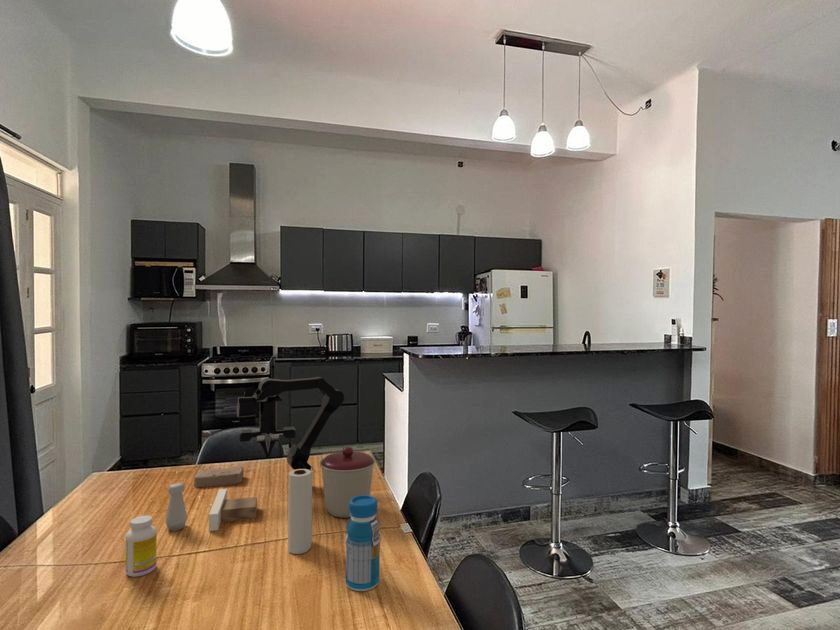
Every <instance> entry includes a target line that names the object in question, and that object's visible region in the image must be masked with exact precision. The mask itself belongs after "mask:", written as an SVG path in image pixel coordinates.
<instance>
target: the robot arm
mask: <svg viewBox="0 0 840 630" xmlns="http://www.w3.org/2000/svg"><path fill="white" fill-rule="evenodd" d="M313 389H317V390H318V391H319V392H320V393H321V394H322V395H323V397H322V400H321V405H320V409H319V411H318V412H317V414H316V415H315V417H314V419H313V420H312V422H311V424H310V425H309V427H308V429H307V430H306V432H305V434H304V436H303V437H302V438H301V440H300V442H299V443H297V444H294V443H292V445H291V448H290V449H289V450H288V452H286V454H287V457H286V461H287V463H288V465H289V466H290V468H291V469H293V470H296V469H308V470H310V471H311V468H312V471H313V470H314V468H313V467H312V465H311V464H310V463H309V462H308V461H309V458H310V455H311V449H312V447H313V446H314V444H315V442H316V441H317V439H318V438H319V435H320V434H321V432H322V431H323V428H324V427H325V426H326V424H327V422H328V420H329V418H330V417H331V416H332V414H333V413H335V412H336V411H337V410H338V409H339V408H340V407H341V406H342V404H343V403H344V401H345V395H344V392H342V391H341V390H338V389H337V388H334V387H333V386H332V385H330V384H329V383H328V382H327V380H325V378H323V377H321V376H316V377H315V376H314V377H308V378H307V377H305V378H295V379H279V378H269V377H265V378H263V379H261V381H259V383H258V388H257V389H256V391H255V392H254V393H253V395H252V396H238V397H237V403H236V404H237V405H236V417H237V418H245V417H255V416H256V414H258V413H259V417H256V418H255V428H259V431H253V429H241V430H240V433H239V442H240V443H241V442H250V441H251V440H252V438H256V443H258V444H259V443H260V445H261V447H262V449H263V452H264V455H265V457H266V459H269V458H270V456H271V454H272V451H273V448H274V446H275V445H276V444H275V443H276V442H279V441H280V437H281V436H283V437H284V438H285V439H294V438H296V428H295V427H294V426H284V427H283V429H279V430H277V402H283V399H282V398H281V396H280V394H283V393H286V392H290V391H302V390H304V391H305V390H313ZM267 437H269V444H267Z"/></svg>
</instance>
